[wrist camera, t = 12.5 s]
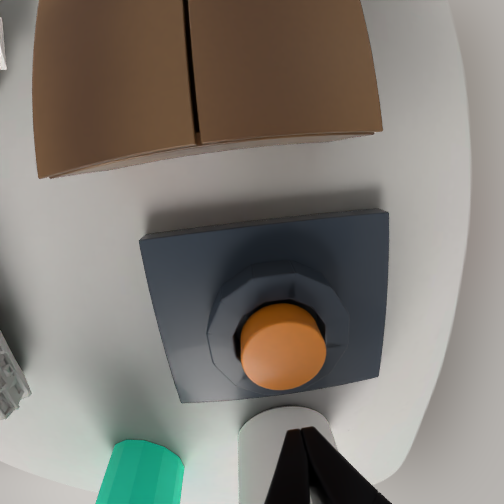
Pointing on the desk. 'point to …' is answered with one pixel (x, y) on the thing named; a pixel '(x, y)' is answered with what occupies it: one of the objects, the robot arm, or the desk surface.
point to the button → (281, 347)
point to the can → (270, 447)
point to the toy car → (10, 381)
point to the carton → (120, 88)
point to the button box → (269, 295)
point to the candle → (142, 475)
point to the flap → (282, 68)
